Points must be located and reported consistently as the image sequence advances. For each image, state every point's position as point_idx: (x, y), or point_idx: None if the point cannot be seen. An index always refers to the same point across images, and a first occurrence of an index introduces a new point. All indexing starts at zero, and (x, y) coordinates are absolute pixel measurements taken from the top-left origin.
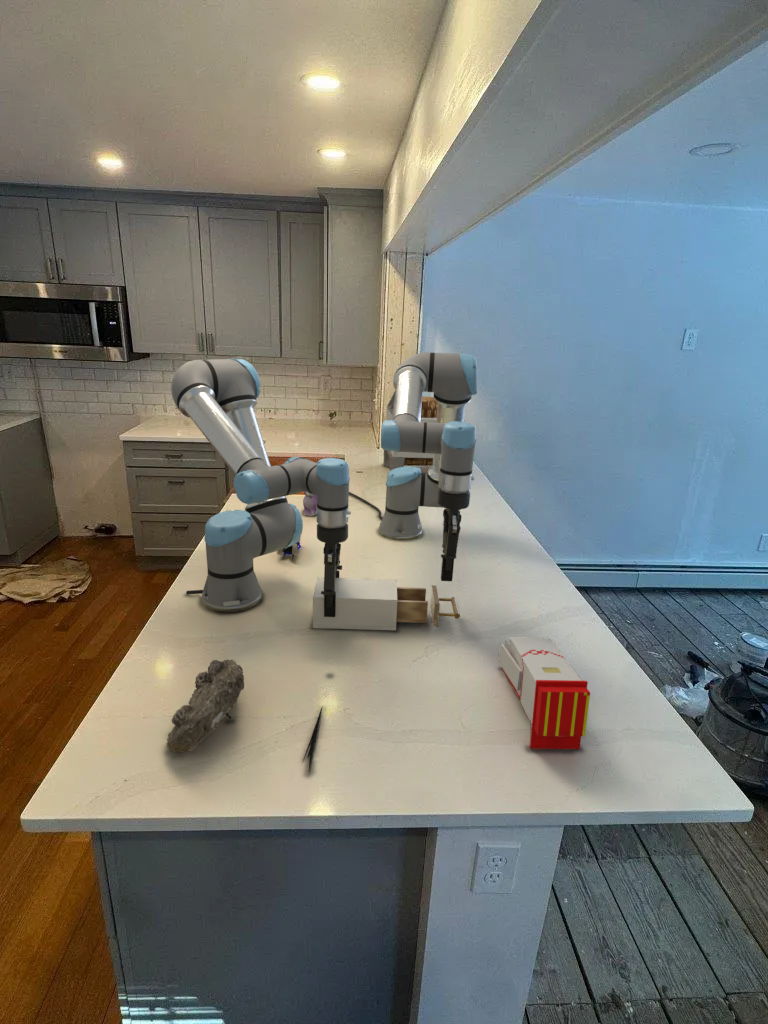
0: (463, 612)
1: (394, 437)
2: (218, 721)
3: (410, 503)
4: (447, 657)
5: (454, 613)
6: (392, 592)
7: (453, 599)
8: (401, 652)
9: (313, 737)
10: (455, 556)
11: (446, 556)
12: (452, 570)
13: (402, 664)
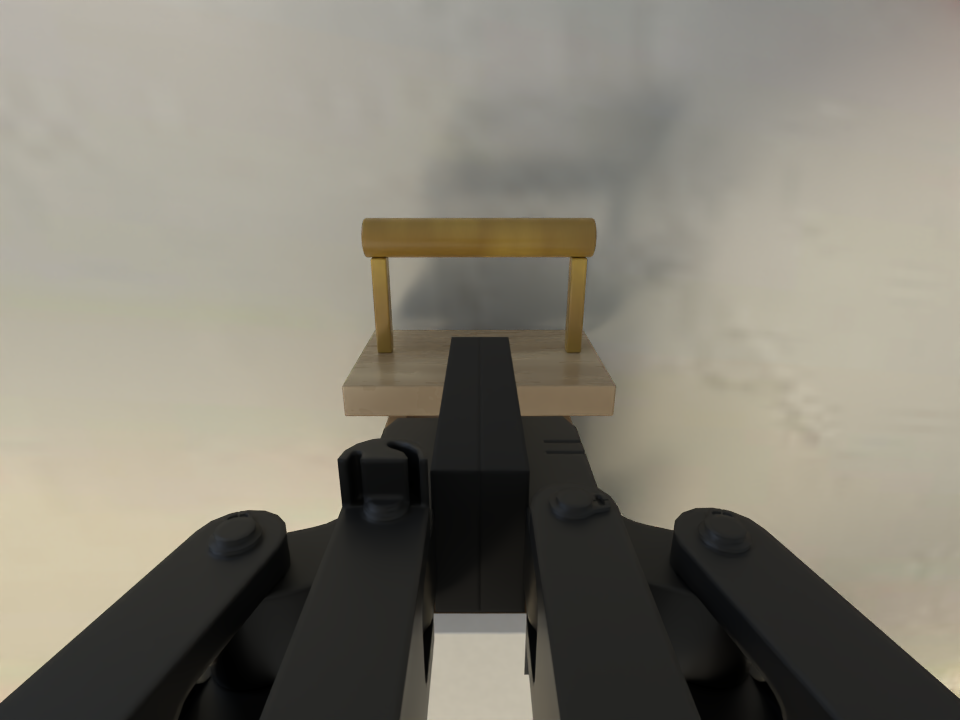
0: (359, 150)
1: None
2: None
3: None
4: (808, 294)
5: (576, 256)
6: (521, 654)
7: (403, 245)
8: (743, 484)
9: None
10: (786, 556)
11: (753, 678)
12: (513, 387)
13: (830, 482)
